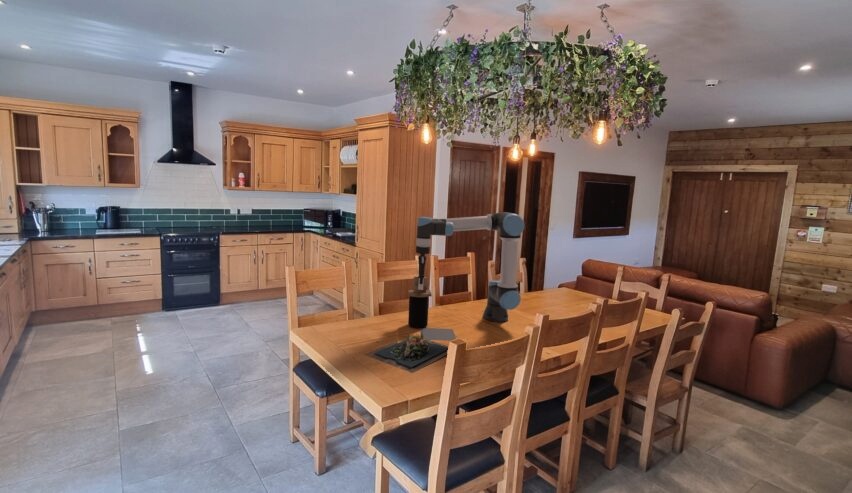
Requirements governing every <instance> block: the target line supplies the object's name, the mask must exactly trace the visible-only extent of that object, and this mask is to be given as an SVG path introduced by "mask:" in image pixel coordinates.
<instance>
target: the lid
mask: <svg viewBox="0 0 852 493" xmlns="http://www.w3.org/2000/svg"><path fill="white" fill-rule="evenodd" d="M418 282H419V278H418V276H413V285H412V286H413V287H412V289H408V290H407V292H408V296H409V297H410V296H428V297H432V296H433V294H432V292H431V290H429V289H428V277H426V276H424V284H423V290H418Z"/></svg>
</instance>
